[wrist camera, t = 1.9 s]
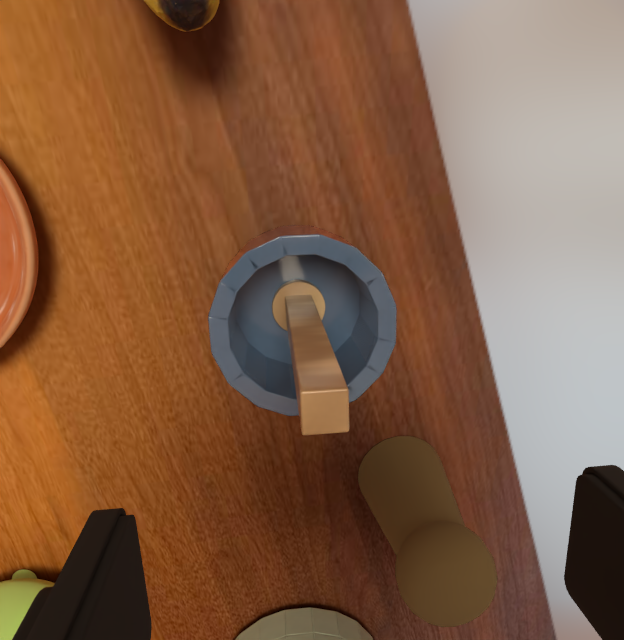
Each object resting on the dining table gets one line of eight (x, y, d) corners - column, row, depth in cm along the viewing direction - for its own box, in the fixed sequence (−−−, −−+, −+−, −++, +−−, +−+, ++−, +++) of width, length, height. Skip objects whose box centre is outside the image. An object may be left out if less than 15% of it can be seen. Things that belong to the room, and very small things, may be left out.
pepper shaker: (344, 457, 34) (378, 578, 24) (425, 422, 34) (495, 528, 24) (376, 524, 36) (421, 665, 26) (453, 490, 36) (531, 619, 25)
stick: (323, 278, 30) (373, 363, 16) (324, 328, 31) (373, 452, 17) (270, 280, 30) (273, 369, 16) (273, 331, 31) (278, 460, 17)
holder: (372, 221, 30) (397, 230, 25) (373, 369, 33) (395, 409, 27) (213, 228, 30) (200, 239, 24) (226, 379, 32) (217, 421, 26)
